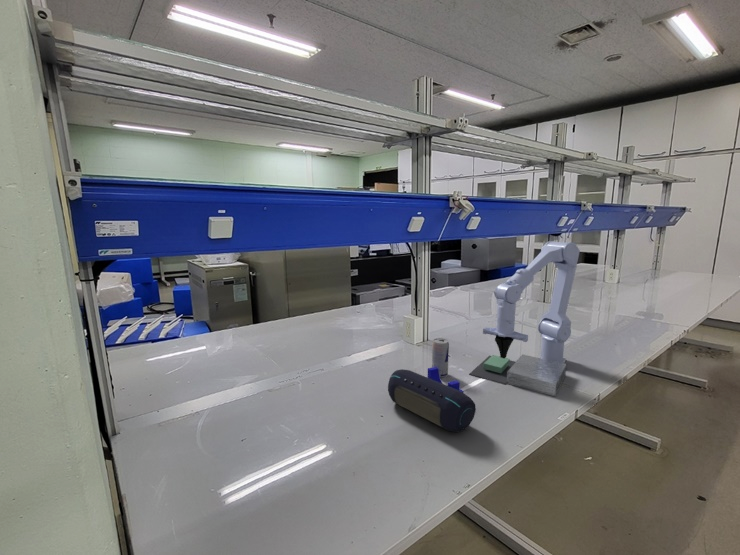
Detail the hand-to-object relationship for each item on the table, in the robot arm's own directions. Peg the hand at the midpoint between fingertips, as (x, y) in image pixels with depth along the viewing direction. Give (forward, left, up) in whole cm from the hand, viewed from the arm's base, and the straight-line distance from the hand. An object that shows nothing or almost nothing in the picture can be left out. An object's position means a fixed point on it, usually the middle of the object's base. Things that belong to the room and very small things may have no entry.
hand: (503, 357), depth 121 cm
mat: (0, -2, -5) cm, 5 cm away
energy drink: (+16, -16, -5) cm, 23 cm away
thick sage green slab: (0, -2, -2) cm, 3 cm away
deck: (0, +11, -5) cm, 12 cm away
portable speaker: (+40, -7, -5) cm, 42 cm away
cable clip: (+26, -9, -5) cm, 28 cm away
